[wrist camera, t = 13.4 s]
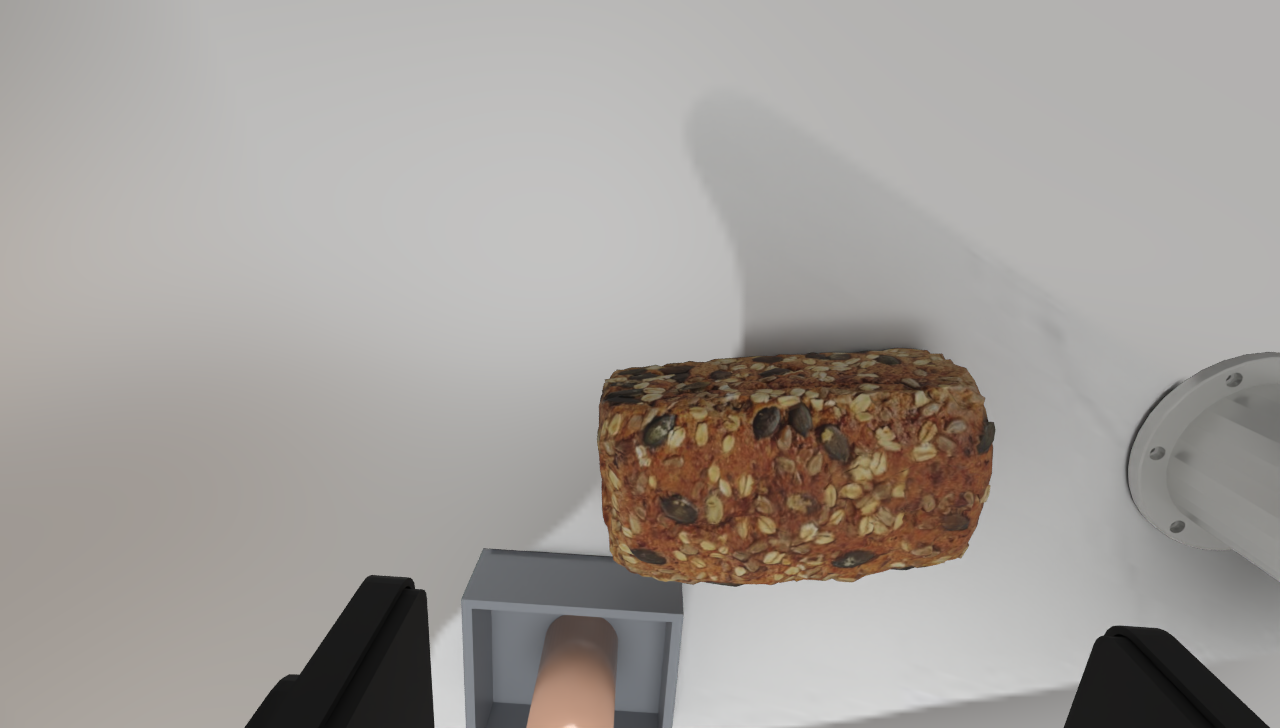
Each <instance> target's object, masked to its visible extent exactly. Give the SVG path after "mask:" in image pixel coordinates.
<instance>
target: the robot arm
mask: <svg viewBox="0 0 1280 728" xmlns="http://www.w3.org/2000/svg"><path fill="white" fill-rule="evenodd" d="M1128 477H1129V487H1130V491H1131V494H1132V498H1133V501H1134V502H1135V504H1136V506H1137V507H1138V509H1139V511H1140V512H1141V514H1142V515H1143V516H1144V517H1145V518H1146V519H1147V520H1148V521H1149V522H1150V523H1151V524H1152V525H1153V526H1154V527H1156V528H1157V529H1158V530H1160V531H1161V532H1162V533H1164V534H1165V535H1166V536H1168V537H1169V538H1171V539H1173V540H1176V541H1178V542H1180V543H1182V544H1184V545H1187V546H1191V547H1195V548H1199V549H1204V550H1219V551H1225V550H1234V551H1236V552H1237V553H1238V554H1240V555H1241V556H1243V557H1244V558H1246V559H1247V560H1249V561H1250V562H1251V563H1253V564H1254V565H1256V566H1257V567H1259V568H1260V569H1261V570H1263V571H1264V572H1266V573H1267V574H1269V575H1270V576H1271V577H1273V578H1274V579H1276V580H1277V581H1279V582H1280V353H1275V352H1265V353H1256V354H1246V355H1243V356H1239V357H1235V358H1232V359H1228V360H1224V361H1222V362H1219V363H1217V364H1215V365H1213V366H1210V367H1208V368H1206V369H1204V370H1201V371H1200V372H1198V373H1197V374H1195V375H1193V376H1192V377H1190V378H1189V379H1187V380H1185V381H1184V382H1182V383H1181V384H1180V385H1179V386H1177V387H1176V388H1175V389H1174V390H1173V391H1171V392H1170V393H1169V394H1168V395H1167V396H1166V397H1164V398H1163V400H1162V401H1161V402H1160V403H1159V404H1158V405H1157V406H1156V408H1155V409H1154V410H1153V411H1152V412H1151V413H1150V415H1149V416H1148V418H1147V419H1146V421H1145V423H1144V424H1143V426H1142V427H1141V429H1140V431H1139V432H1138V435H1137V437H1136V440H1135V442H1134V445H1133V447H1132V450H1131V455H1130V460H1129V466H1128ZM245 728H434V712H433V695H432V678H431V661H430V644H429V627H428V611H427V597H426V592H425V590H421V589H420V590H419V589H415V585H414V582H413V580H412V579H411V578H407V577H391V576H377V575H371V576H368V577H367V578H366V579H365V580H364V581H363V583H362V584H361V586H360V587H359V589H358V590H357V591H356V593H355V594H354V596H353V597H352V599H351V600H350V602H349V603H348V605H347V606H346V608H345V609H344V611H343V612H342V613H341V615H340V616H339V618H338V619H337V621H336V622H335V624H334V625H333V627H332V628H331V630H330V631H329V632H328V634H327V636H326V637H325V639H324V640H323V642H322V643H321V644H320V646H319V647H318V649H317V650H316V652H315V653H314V655H313V656H312V657H311V659H310V660H309V662H308V663H307V665H306V666H305V668H304V669H303V671H302V672H301V674H300V675H290V674H289V675H287V676H286V677H284V678H282V679H281V680H280V681H279V682H278V683H277V684H276V686H275V687H274V688H273V689H272V690H271V691H270V693H269V694H268V695H267V697H266V698H265V700H264V701H263V702H262V704H261V706H260V707H259V708H258V709H257V711H256V712H255V714H254V715H253V716H252V718H251V719H250V721H249V722H248V724H247V725H246V726H245ZM1064 728H1270V727H1269V726H1267V725H1266V724H1265V723H1264V722H1263V721H1262V720H1261V719H1260V718H1259V717H1258V716H1257V715H1256V714H1255V713H1254V712H1253V711H1252V710H1250V708H1248V707H1247V706H1246V705H1245V704H1244V703H1243V702H1242V701H1241V700H1240V699H1239V698H1238V697H1237V696H1236V695H1235V694H1234V693H1233V692H1232V691H1231V690H1229V689H1228V688H1227V687H1226V686H1225V685H1224V684H1223V683H1222V682H1221V681H1220V680H1219V679H1218V678H1217V677H1216V676H1215V675H1214V674H1213V673H1211V672H1210V671H1209V670H1208V669H1207V668H1206V667H1205V666H1204V665H1203V664H1202V663H1201V662H1200V661H1199V660H1198V659H1197V658H1196V657H1195V656H1193V655H1192V654H1191V653H1190V652H1189V651H1188V650H1187V649H1186V648H1185V647H1184V646H1183V645H1182V644H1181V643H1180V642H1179V641H1178V640H1177V639H1175V638H1174V637H1173V636H1172V635H1171V634H1169V633H1168V632H1166V631H1164V630H1161V629H1158V628H1146V627H1132V626H1112V627H1111V628H1109V629H1108V630H1107V631H1106V633H1105V635H1104V636H1101V637H1099V638H1098V639H1097V640H1096V641H1095V643H1094V645H1093V648H1092V651H1091V654H1090V657H1089V659H1088V662H1087V665H1086V668H1085V670H1084V673H1083V676H1082V679H1081V681H1080V684H1079V687H1078V690H1077V692H1076V695H1075V698H1074V701H1073V703H1072V707H1071V709H1070V712H1069V715H1068V717H1067V720H1066V723H1065V726H1064Z"/></svg>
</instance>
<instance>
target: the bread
mask: <svg viewBox="0 0 1280 728" xmlns="http://www.w3.org/2000/svg"><path fill="white" fill-rule="evenodd" d="M984 401H985V397H983V396H982V395H981V394H980V392H979V390H978V387H977V385H976V383H975V380H974V379H973V378H972V376H971V375H970V373H969V372H968V370H967V369H966V368H964V367H961V366H957V365H955V364H954V363H953V362H952V361H951V359H949V360H945V358H944V356H943V354H930V353H929V352H928V351H927V350H917V349H906V348H894V349H887V350H883V351H863V352H854V353H820V354H817V353H809V354H805V355H798V354H797V355H780V354H779V355H777V356H754V357H739V358H725V359H714V360H711V361H708V362H693V361H688V362H684V363H672V364H666V365H664V366H658V365H653V366H648V367H632V368H628V369H625V370H616V371H615V372H614V373H613V374H612V375H611V377H610V379H606V380H605V383H604V386H603V390H602V395H601V399H600V404H599V429H598V436H597V443H598V450H599V457H600V458H599V460H600V472H601V477H602V511H603V518H604V521H605V524H606V525H607V527H608V532H609V544H610V552H611V553H612V555H613V560H614V561H615V562H617V563H618V564H620V565H622V566H624V567H625V568H626V569H627V570H628V571H629V572H631V573H634V574H639V575H641V576H643V577H652V578H654V579H657V580H659V581H665V582H667V581H676V582H681V583H687V584H692V585H693V584H696V583H699V582H707V583H712V584H719V585H727V586H734V587H737V586H740V585H743V584H768V585H773V584H776V583H778V582H779V583H781V582H787V581H792V580H795V581H796V582H797V581H800V580H803V579H805V580H821V581H826V580H829V579H831V578H832V579H834V580H836V581H841V582H854V581H856V580H858V579H860V578H862V577H864V576H866V575H870V574H875V573H879V572H883V571H886V570H889V569H895V570H908V569H911V568H914V567H916V568H920V567H927V566H932V565H937V564H940V563H944V562H945V561H946V560H953V559H956V558H961V557H962V556H963V554H964V553H965V551H966V550H967V548H968V547H969V544H968V542H969V540H970V538H971V536H972V534H973V532H974V531H975V529H976V527H977V524H978V520H979V516H980V513H981V511H982V508H983V504H984V502H986V501H987V499H988V496H989V493H990V485H988V484H989V481H990V478H991V474H992V457H993V445H992V442H993V441H994V435H995V426H994V422H988V418H987V414H986V409H985V407H984V405H983V404H984Z"/></svg>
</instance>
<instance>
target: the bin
mask: <svg viewBox="0 0 1280 728" xmlns="http://www.w3.org/2000/svg"><path fill="white" fill-rule="evenodd" d="M461 607H462V633H463V660H464V687H465V713H466V728H526V727H527V722H528V717H529V712H530V708H531V703H532V698H533V693H534V688H535V684H536V679H537V674H538V669H539V664H540V659H541V655H542V650H543V645H544V640H545V635H546V632H547V630H548V628H549V626H550V625H551V624H552V623H553V622H554V621H555V620H556V619H558V618H559V617H561V616H563V615H575V616H589V617H602V618H604V619H605V620H606V621H608V622H609V623H610V624H611V625H612V627H613V628H614V630H615V631H616V634H617V637H618V656H617V675H616V693H615V711H614V728H672V723H673V713H674V704H675V694H676V684H677V674H678V664H679V654H680V644H681V634H682V624H683V597H682V583H681V582H676V581H667V582H665V581H659V580H657V579H654V578H652V577H643V576H641V575H639V574H634V573H631V572H629V571H628V570H627V569H626V568H625V567H624V566H622V565H620V564H618V563H617V562H615V561H614V560H613V557H605V556H590V555H575V554H560V553H546V552H531V551H516V550H501V549H486V548H484V549H483V551H482V553H481V555H480V558H479V560H478V562H477V564H476V567H475V569H474V571H473V574H472V576H471V578H470V580H469V583H468V585H467V587H466V590H465V592H464V594H463V596H462V599H461Z"/></svg>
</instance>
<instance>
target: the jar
mask: <svg viewBox="0 0 1280 728" xmlns="http://www.w3.org/2000/svg"><path fill="white" fill-rule="evenodd" d="M617 656H618V637H617V634H616V631H615V630H614V628H613V627H612V625H611V624H610V623H609V622H608V621H606V620H605V619H604V618H602V617H589V616H575V615H563V616H561V617H559V618H558V619H556V620H555V621H554V622H553V623H552V624H551V625H550V626H549V628H548V630H547V632H546V635H545V640H544V645H543V650H542V655H541V659H540V664H539V669H538V674H537V679H536V684H535V688H534V693H533V698H532V703H531V708H530V712H529V717H528V722H527V727H526V728H614V711H615V693H616V675H617Z"/></svg>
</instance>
